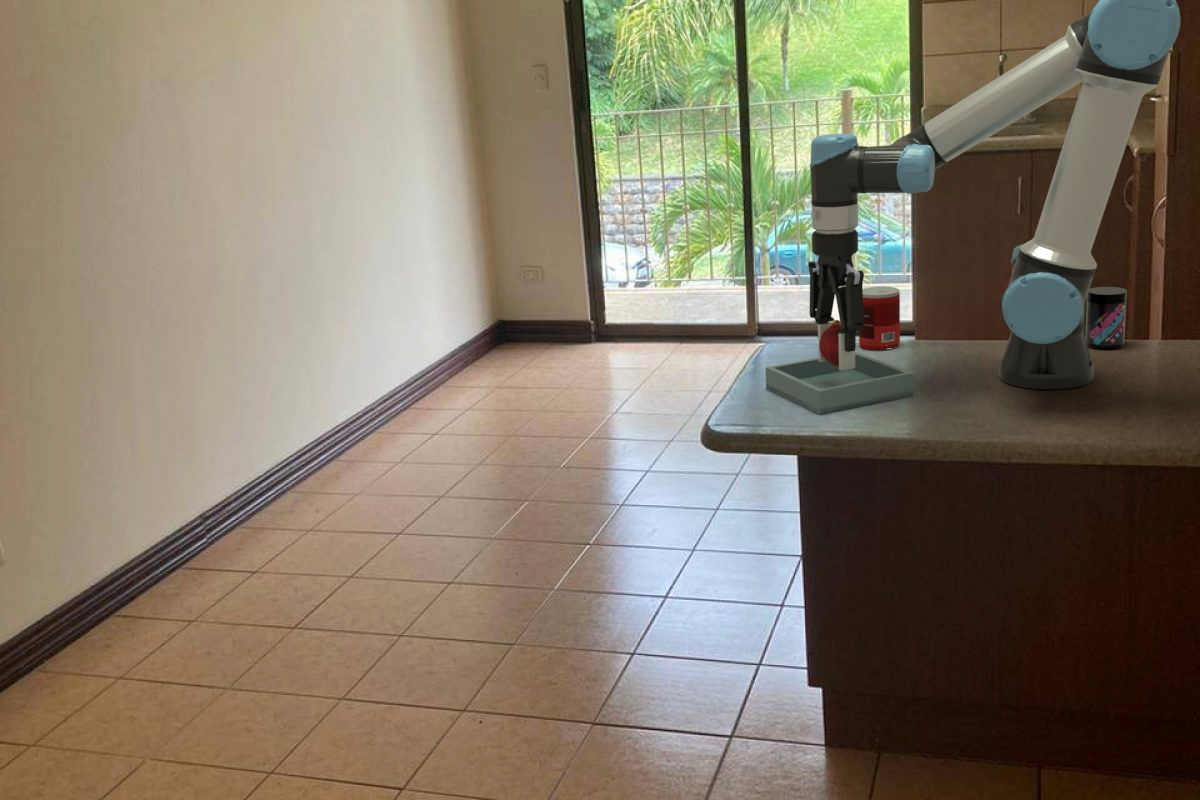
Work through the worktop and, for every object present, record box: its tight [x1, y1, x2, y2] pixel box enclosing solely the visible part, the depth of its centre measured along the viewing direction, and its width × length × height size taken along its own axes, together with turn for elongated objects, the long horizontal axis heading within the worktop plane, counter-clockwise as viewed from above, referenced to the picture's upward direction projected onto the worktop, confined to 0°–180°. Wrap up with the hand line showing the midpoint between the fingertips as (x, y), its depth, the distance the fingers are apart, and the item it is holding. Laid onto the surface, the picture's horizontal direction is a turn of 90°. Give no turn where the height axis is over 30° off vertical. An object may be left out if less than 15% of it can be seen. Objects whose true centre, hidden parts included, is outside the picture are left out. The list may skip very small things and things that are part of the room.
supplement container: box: [1085, 286, 1128, 351], centre depth 222 cm, size 7×7×10 cm
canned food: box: [858, 285, 901, 352], centre depth 234 cm, size 8×8×11 cm
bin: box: [765, 351, 914, 416], centre depth 208 cm, size 18×18×4 cm
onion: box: [819, 319, 842, 366], centre depth 206 cm, size 6×6×8 cm
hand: (836, 364), depth 207 cm, fingers closed on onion, 6 cm apart
